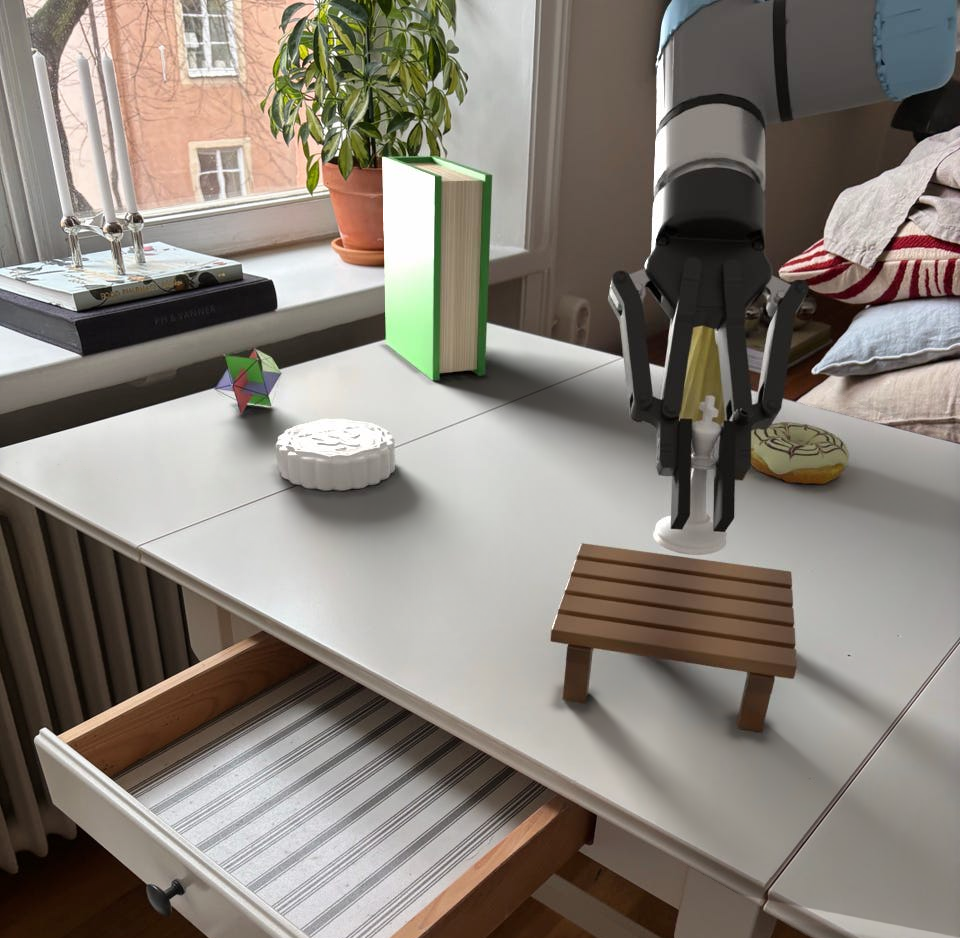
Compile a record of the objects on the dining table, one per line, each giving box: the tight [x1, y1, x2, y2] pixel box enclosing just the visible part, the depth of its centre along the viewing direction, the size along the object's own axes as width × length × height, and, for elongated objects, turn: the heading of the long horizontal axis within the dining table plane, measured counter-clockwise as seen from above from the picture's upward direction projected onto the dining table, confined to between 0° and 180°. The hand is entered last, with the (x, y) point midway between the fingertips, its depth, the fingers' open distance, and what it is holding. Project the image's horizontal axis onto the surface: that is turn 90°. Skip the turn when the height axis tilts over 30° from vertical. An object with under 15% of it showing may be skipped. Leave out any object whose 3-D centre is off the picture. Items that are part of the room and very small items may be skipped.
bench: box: [550, 542, 798, 733], centre depth 72 cm, size 16×14×6 cm
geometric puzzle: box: [213, 347, 283, 415], centre depth 115 cm, size 7×7×8 cm
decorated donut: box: [751, 421, 850, 485], centre depth 105 cm, size 10×11×4 cm
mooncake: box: [275, 418, 396, 492], centre depth 101 cm, size 12×12×4 cm
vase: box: [679, 326, 725, 426], centre depth 112 cm, size 6×6×14 cm
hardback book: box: [382, 155, 493, 382], centre depth 129 cm, size 18×7×24 cm, turn 24°
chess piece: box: [653, 395, 728, 556], centre depth 65 cm, size 5×5×10 cm
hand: (701, 522), depth 63 cm, fingers closed on chess piece, 2 cm apart
